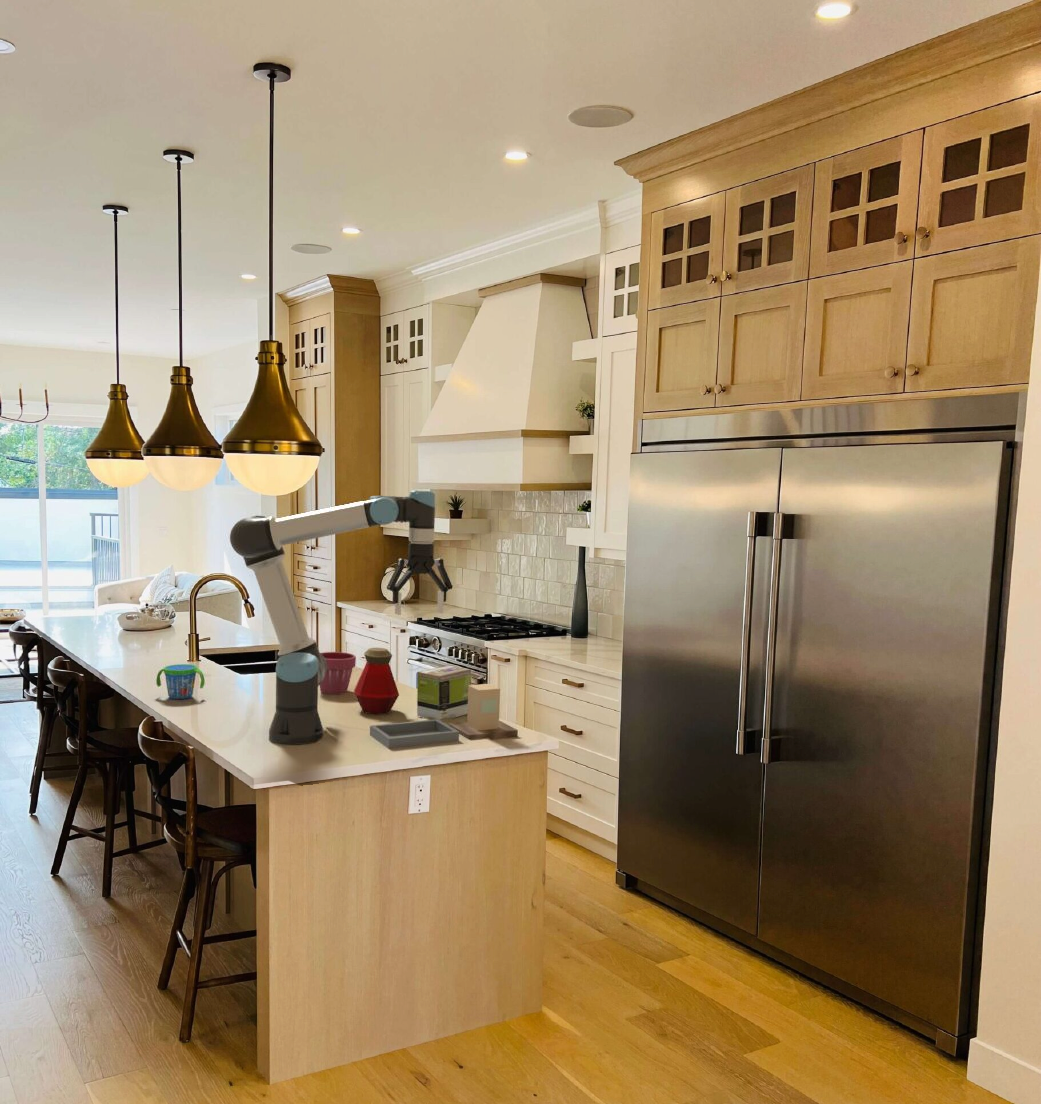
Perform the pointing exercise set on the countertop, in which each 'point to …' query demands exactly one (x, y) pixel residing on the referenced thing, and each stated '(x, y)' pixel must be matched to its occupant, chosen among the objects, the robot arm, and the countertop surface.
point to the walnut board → (485, 731)
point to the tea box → (443, 692)
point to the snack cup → (180, 680)
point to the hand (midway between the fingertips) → (419, 613)
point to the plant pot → (337, 672)
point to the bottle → (376, 683)
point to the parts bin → (413, 733)
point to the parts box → (483, 707)
